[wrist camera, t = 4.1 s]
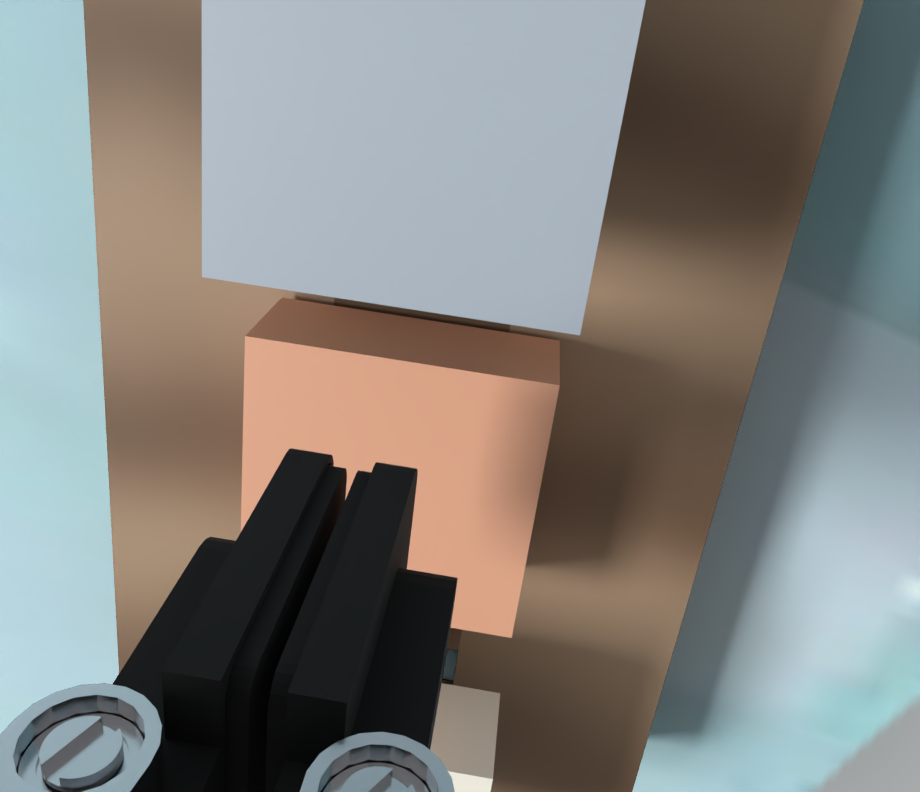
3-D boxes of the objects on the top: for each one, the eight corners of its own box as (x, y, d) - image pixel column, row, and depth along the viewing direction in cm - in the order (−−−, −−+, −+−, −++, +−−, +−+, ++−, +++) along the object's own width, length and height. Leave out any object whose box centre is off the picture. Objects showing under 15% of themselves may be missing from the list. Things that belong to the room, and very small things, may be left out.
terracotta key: (317, 260, 18) (244, 336, 14) (559, 297, 17) (559, 385, 13) (305, 471, 20) (239, 591, 16) (521, 506, 20) (511, 638, 15)
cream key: (280, 571, 19) (202, 727, 15) (507, 609, 19) (492, 779, 14) (272, 739, 21) (202, 917, 17) (476, 776, 21) (456, 965, 17)
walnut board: (147, -126, 15) (75, -151, 13) (828, -36, 15) (876, -44, 12) (165, 658, 23) (122, 730, 21) (617, 737, 22) (623, 820, 20)
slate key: (311, -116, 13) (202, -171, 9) (633, -72, 13) (667, -110, 9) (296, 206, 15) (202, 277, 11) (574, 247, 15) (579, 335, 11)
